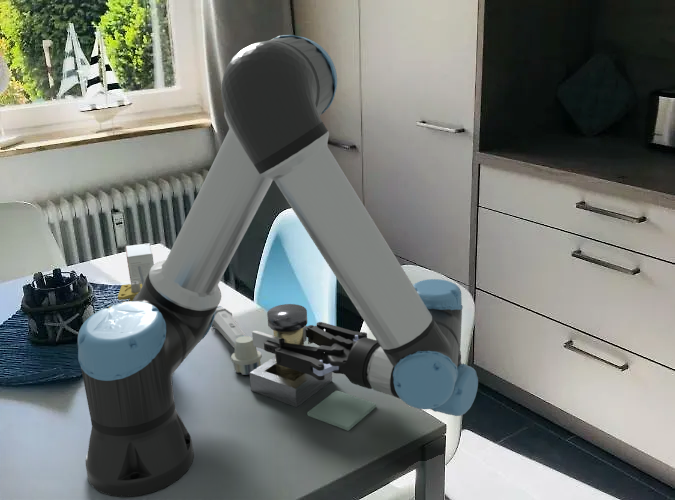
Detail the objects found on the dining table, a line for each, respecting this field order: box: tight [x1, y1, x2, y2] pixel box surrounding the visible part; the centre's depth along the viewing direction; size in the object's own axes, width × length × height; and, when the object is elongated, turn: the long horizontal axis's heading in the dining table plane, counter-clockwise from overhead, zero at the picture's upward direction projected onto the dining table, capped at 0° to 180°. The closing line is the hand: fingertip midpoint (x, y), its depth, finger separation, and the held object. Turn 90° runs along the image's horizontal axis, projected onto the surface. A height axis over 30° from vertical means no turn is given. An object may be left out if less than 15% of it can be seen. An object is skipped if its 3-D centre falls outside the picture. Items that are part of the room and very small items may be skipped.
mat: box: [306, 389, 377, 431], centre depth 117 cm, size 8×8×1 cm
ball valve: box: [108, 281, 142, 308], centre depth 150 cm, size 13×10×10 cm
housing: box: [249, 356, 333, 408], centre depth 124 cm, size 10×10×4 cm
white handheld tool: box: [211, 305, 263, 376], centre depth 139 cm, size 5×7×25 cm
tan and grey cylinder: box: [266, 303, 308, 381], centre depth 122 cm, size 7×7×14 cm
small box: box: [125, 242, 155, 284], centre depth 166 cm, size 8×6×10 cm
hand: (265, 331), depth 125 cm, fingers closed on tan and grey cylinder, 5 cm apart
